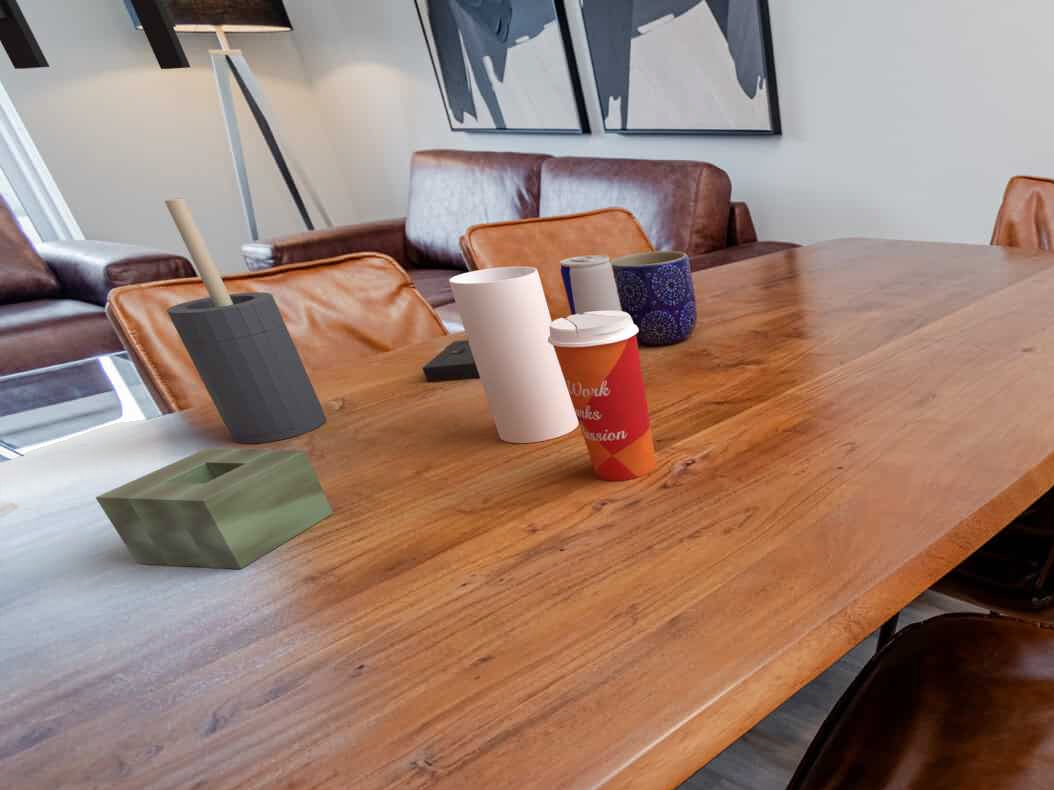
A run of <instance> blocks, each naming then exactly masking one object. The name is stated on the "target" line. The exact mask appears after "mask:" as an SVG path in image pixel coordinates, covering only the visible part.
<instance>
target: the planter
mask: <svg viewBox="0 0 1054 790" xmlns="http://www.w3.org/2000/svg"><path fill="white" fill-rule="evenodd" d="M609 262H610V263H611V265H612V269H613V274H614V278H615V283H616V287H617V292H618V296H619V301H620V305H621V310H622V312H626V313H628V314H629V315H630V316H631V318H632V321H633V324H635V325H636V326H637V327H638V329H639V331H638V333H636V338H637V343H638V344H641V345H644V346H651V347H653V346H656V347H657V346H667V345H673V344H677V343H680V342H683V341H685V340H687V339H689V337H691V335H692V334H693V333H694V330H695V328H696V326H697V321H698V311H697V303H696V302H697V301H696V294H695V287H694V281H693V276H692V270H691V265H690V264H691V263H690V260H689V256H688V254H687V253H685V252H682V251H674V250H660V251H659V250H658V251H657V250H656V251H645V252H644V251H643V252H638V253H637V252H636V253H631V254H625V255H621V256H617V257H614V258H612V259H609Z"/></svg>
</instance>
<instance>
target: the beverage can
mask: <svg viewBox="0 0 1054 790" xmlns="http://www.w3.org/2000/svg"><path fill="white" fill-rule="evenodd" d="M609 261H610V257H609V256H608V255H600V254H598V255H595V254H593V255H592V254H591V255H580V256H574V257H568V258H565V259H562V260H560V261H559V265H560V273H561V274H560V275H561V278H562V282H563V287H564V290H565V294H566V298H567V301H568V306H569V309H570V314H571V315H575V314H580V315H582V314H583V313H584V312H592V311H622V310H621V305H620V301H619V296H618V292H617V287H616V283H615V278H614V274H613V269H612V265H611V263H610V262H609Z"/></svg>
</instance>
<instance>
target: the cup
mask: <svg viewBox="0 0 1054 790" xmlns="http://www.w3.org/2000/svg"><path fill="white" fill-rule="evenodd" d="M448 283H449V286H450V290H451V292H452V293H451V294H452V296H453V299H454V301H455V304H456V308H457V311H458V315H459V317H460V320H461V324H462V326H463V330H464V333H465V336H466V340H468V342H469V345H470V348H471V351H472V354H473V357H474V360H475V363H476V366H477V370H478V373H479V376H480V378H479V379H480V382H481V385H482V387H483V392H484V393H485V397H486V400H487V403H488V406H489V409H490V412H491V415H492V418H493V422H494V424H495V428H496V431H497V433H498V437H499V438H500V440H502V441H504V442H506V443H512V444H533V443H541V442H544V441H550V440H554V439H556V438H560V437H563V436H565V435H567V434H569V433H571V432H573V431H574V430H575V429H576V428H578V426H579V422H578V419H577V416H576V413H575V410H574V407H573V404H572V401H571V398H570V395H569V392H568V389H567V386H566V383H565V380H564V377H563V374H562V371H561V368H560V365H559V362H558V359H557V356H556V353H555V350H554V347H553V345H551V344H550V343H548V337H549V336H550V328H549V326H550V323H551V322H553V321H552V317H551V315H550V311H549V306H548V303H547V300H546V295H545V292H544V288H543V284H542V281H541V276H540V274H539V271H538V268H536V267H532V266H501V267H493V268H484V269H478V270H473V271H468V272H464V273H461V274H457V275H454V276H452V277H450V278H449V279H448Z"/></svg>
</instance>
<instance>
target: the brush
mask: <svg viewBox="0 0 1054 790" xmlns="http://www.w3.org/2000/svg"><path fill="white" fill-rule="evenodd" d="M164 203H165V205H166V207H167V209H168V211H169V214H170V216H171V218H172V220H173V222H174V224H175V226H176V229H177V231H178V232H179V234H180V236H181V238H182V241H183V243H184V246H185V247H186V249H187V251H188V253H189V256H190V257H191V259H192V262H193V264H194V266H195V268H196V270H197V272H198V275H199V277H200V279H201V280H202V282H203V283H202V284H203V285H204V287H205V289H206V291H207V293H208V295H209V297H211V299H212V301H213V303H214V305H215V307H222V306H228V305H233V302H232V300H231V298H230V296H229V292H228V290H227V287H226V285H225V284H224V281H223V279H222V276H221V274H220V272H219V270H218V268H217V266H216V264H215V262H214V259H213V258H212V256H211V253H210V251H209V249H208V246H207V245H206V243H205V241H204V238H203V236H202V234H201V232H200V229H199V227H198V226H197V222H196V221H195V219H194V217H193V215H192V212H191V211H190V209H189V206H188V204H187V202H186V199H185V198H180V197H179V198H170V199H165V200H164Z"/></svg>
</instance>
